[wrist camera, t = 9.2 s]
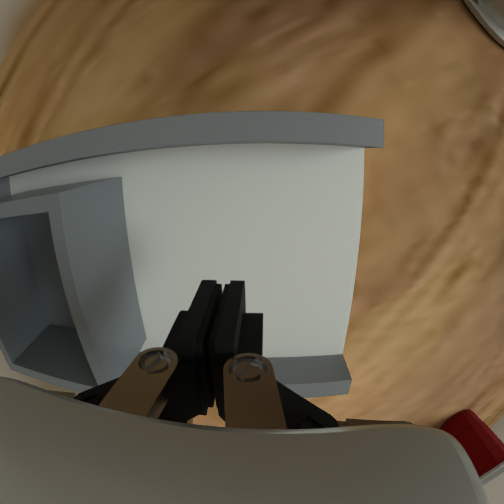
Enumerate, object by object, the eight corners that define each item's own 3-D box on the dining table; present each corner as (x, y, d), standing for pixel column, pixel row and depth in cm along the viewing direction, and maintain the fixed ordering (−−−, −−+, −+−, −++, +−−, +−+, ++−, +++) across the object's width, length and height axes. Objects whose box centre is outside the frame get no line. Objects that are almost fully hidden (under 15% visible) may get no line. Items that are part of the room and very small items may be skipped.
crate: (17, 193, 17) (-43, 212, 10) (121, 176, 17) (58, 192, 10) (48, 325, 21) (8, 368, 14) (146, 338, 20) (114, 399, 14)
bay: (6, 161, 17) (-26, 166, 13) (358, 125, 16) (383, 119, 12) (46, 341, 23) (26, 364, 19) (336, 360, 22) (347, 393, 18)
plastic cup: (408, 451, 29) (431, 516, 17) (448, 402, 25) (487, 473, 14) (458, 439, 29) (483, 492, 18) (496, 391, 25) (532, 446, 14)
